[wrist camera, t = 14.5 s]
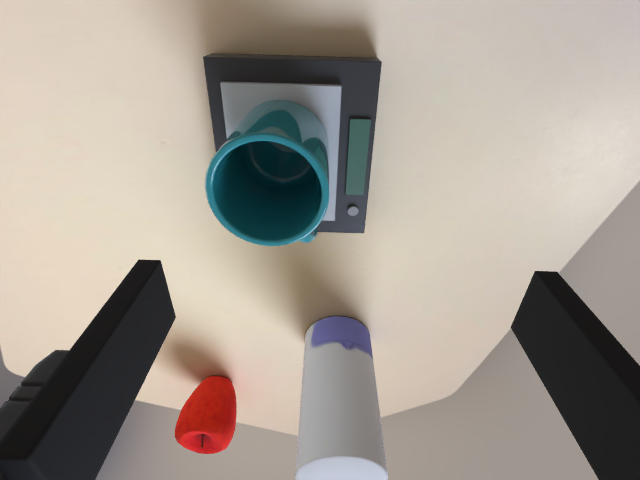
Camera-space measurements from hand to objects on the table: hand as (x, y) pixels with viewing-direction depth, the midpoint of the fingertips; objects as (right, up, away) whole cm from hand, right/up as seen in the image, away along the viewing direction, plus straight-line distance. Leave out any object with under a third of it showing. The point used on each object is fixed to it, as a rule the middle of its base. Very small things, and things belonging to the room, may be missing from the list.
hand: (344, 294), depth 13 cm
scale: (-4, +12, +26) cm, 29 cm away
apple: (-18, -23, +49) cm, 57 cm away
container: (+2, -13, +43) cm, 45 cm away
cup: (-4, +10, +23) cm, 26 cm away
